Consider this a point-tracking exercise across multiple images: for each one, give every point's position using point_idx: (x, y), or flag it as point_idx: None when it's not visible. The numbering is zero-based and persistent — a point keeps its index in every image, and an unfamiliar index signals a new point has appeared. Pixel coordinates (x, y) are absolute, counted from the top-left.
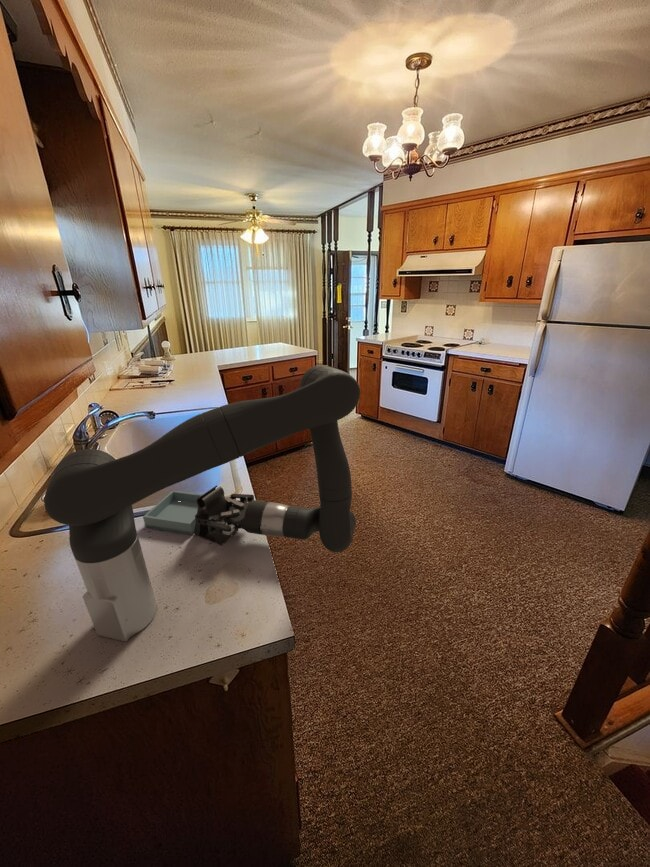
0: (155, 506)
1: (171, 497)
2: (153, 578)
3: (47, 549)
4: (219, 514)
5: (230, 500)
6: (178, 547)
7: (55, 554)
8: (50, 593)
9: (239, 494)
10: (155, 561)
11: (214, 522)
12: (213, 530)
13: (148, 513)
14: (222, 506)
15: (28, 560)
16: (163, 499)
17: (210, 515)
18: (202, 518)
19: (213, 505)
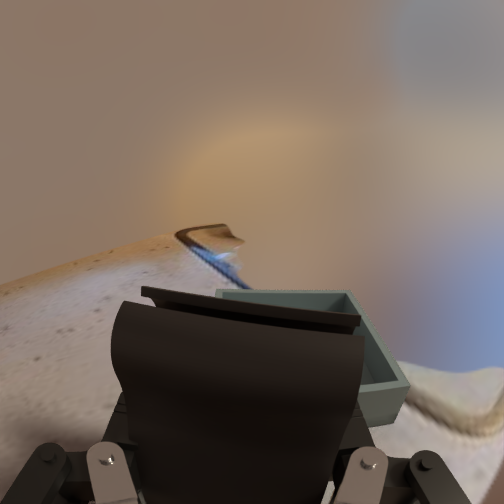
0: (267, 291)
1: (332, 303)
2: (20, 395)
3: (147, 255)
4: (132, 499)
5: (361, 494)
6: None
7: (134, 264)
8: (48, 287)
9: (458, 494)
10: (80, 383)
11: (45, 482)
12: (63, 499)
13: (232, 291)
14: (270, 481)
15: (126, 253)
16: (303, 291)
17: (136, 446)
18: (119, 414)
19: (192, 422)
